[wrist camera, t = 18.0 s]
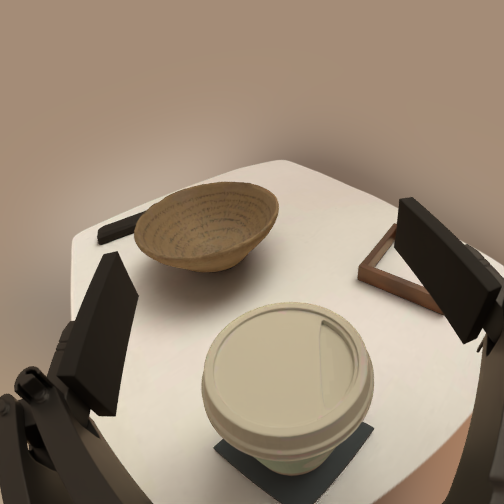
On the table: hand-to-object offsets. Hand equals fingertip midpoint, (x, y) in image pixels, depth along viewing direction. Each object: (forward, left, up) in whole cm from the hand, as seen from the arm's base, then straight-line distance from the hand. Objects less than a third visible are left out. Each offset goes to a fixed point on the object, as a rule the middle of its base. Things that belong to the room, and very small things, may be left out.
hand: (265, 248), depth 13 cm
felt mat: (-3, +2, -16) cm, 17 cm away
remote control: (+43, -9, -17) cm, 47 cm away
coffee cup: (-3, +2, -16) cm, 16 cm away
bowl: (+21, -11, -17) cm, 29 cm away
